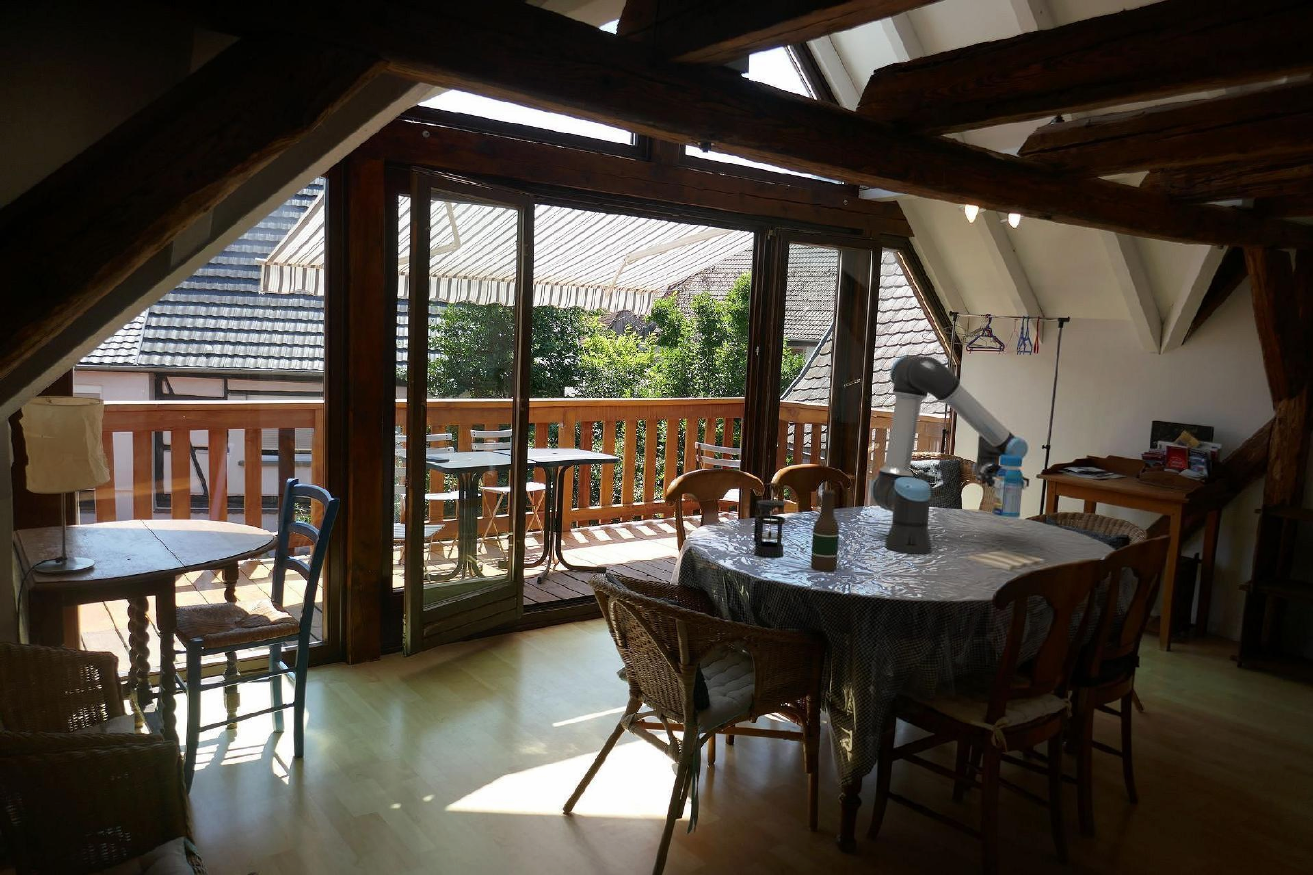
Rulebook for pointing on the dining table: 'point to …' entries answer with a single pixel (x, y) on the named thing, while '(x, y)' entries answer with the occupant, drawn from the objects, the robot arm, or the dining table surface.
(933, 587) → the dining table surface
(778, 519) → the black lantern
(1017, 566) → the birch board
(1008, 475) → the beverage bottle
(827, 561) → the beer bottle
